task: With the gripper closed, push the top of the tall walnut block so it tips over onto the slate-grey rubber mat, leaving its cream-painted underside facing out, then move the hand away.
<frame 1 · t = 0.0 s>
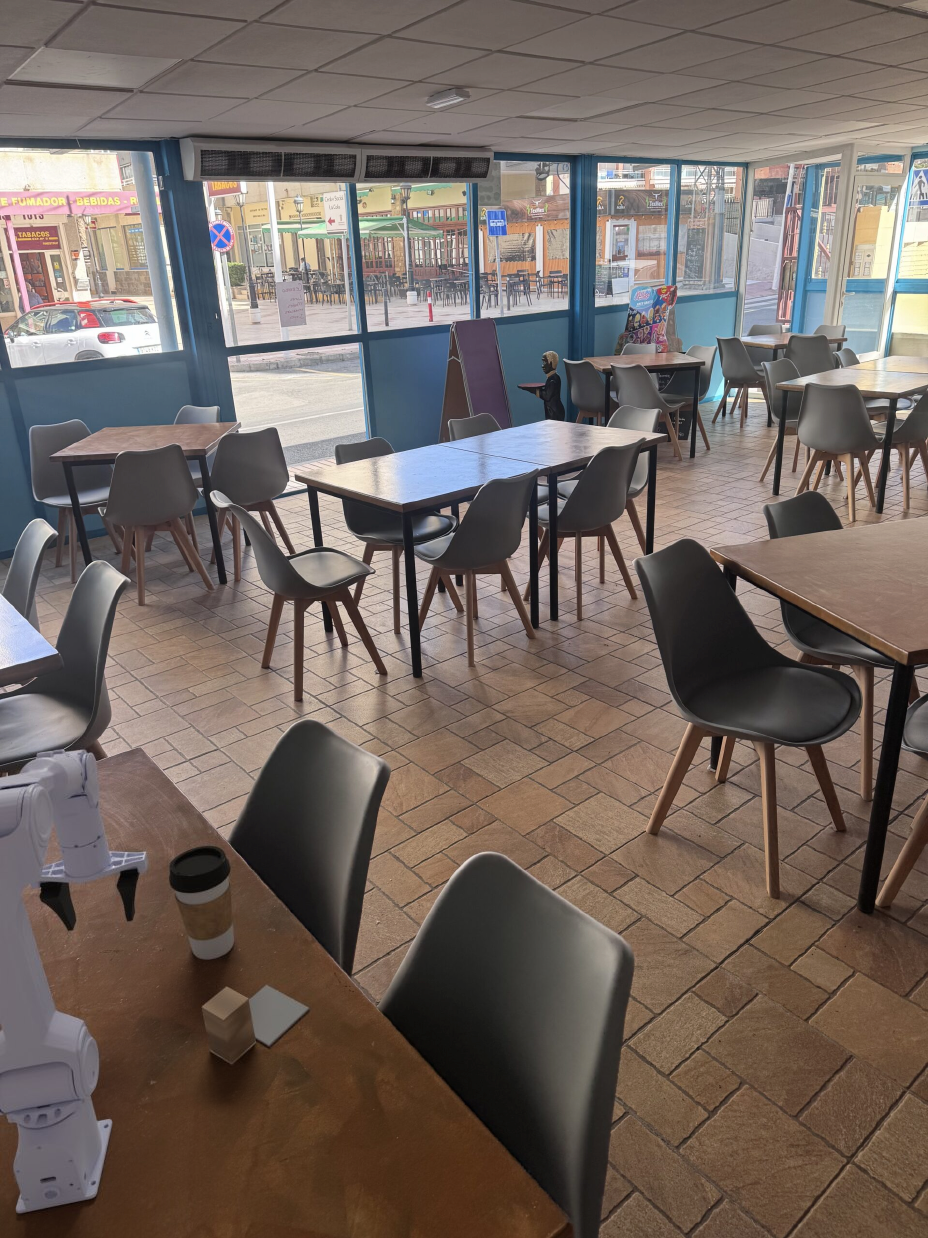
hand: (101, 921, 119), 10 cm above the table, tool pointing down, fingers open, 7 cm apart
walnut block: (233, 1047, 110), on the table
coffee cup: (213, 946, 128), on the table
slate mat: (267, 1015, 115), on the table
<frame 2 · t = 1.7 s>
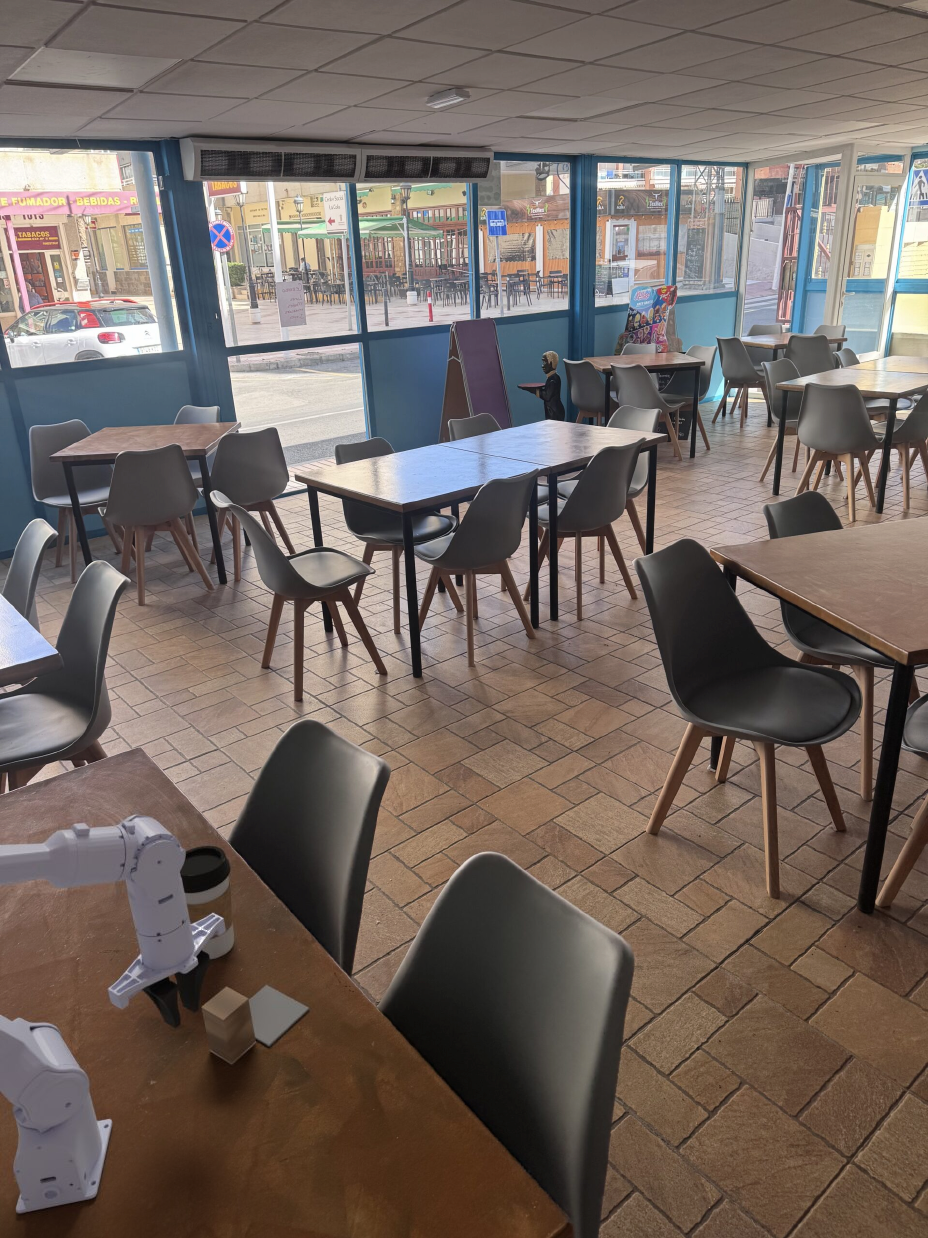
hand: (181, 1015, 102), 10 cm above the table, tool pointing down, fingers closed
nothing on the table moved.
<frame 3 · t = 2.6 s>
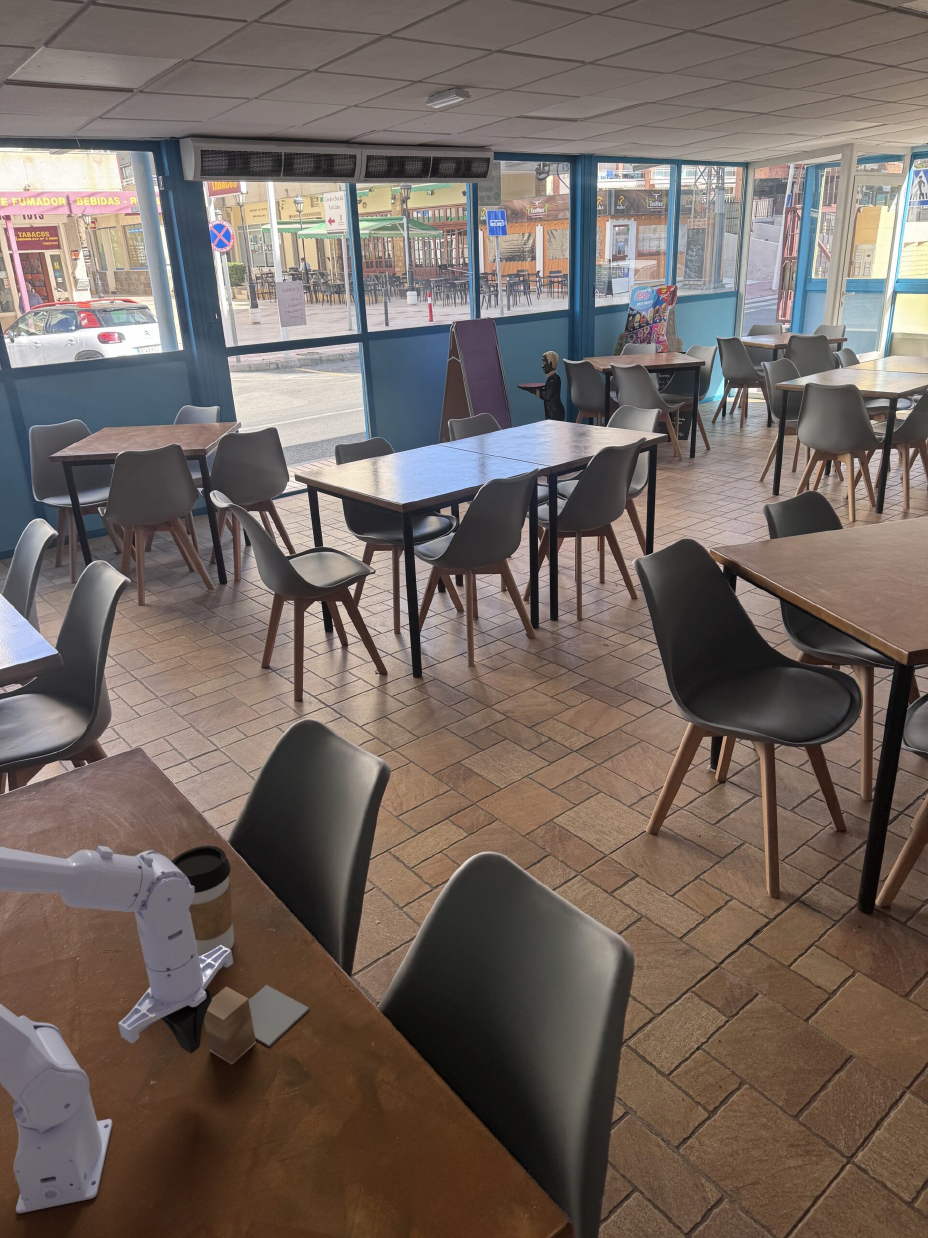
hand: (190, 1046, 104), 5 cm above the table, tool pointing down, fingers closed
nothing on the table moved.
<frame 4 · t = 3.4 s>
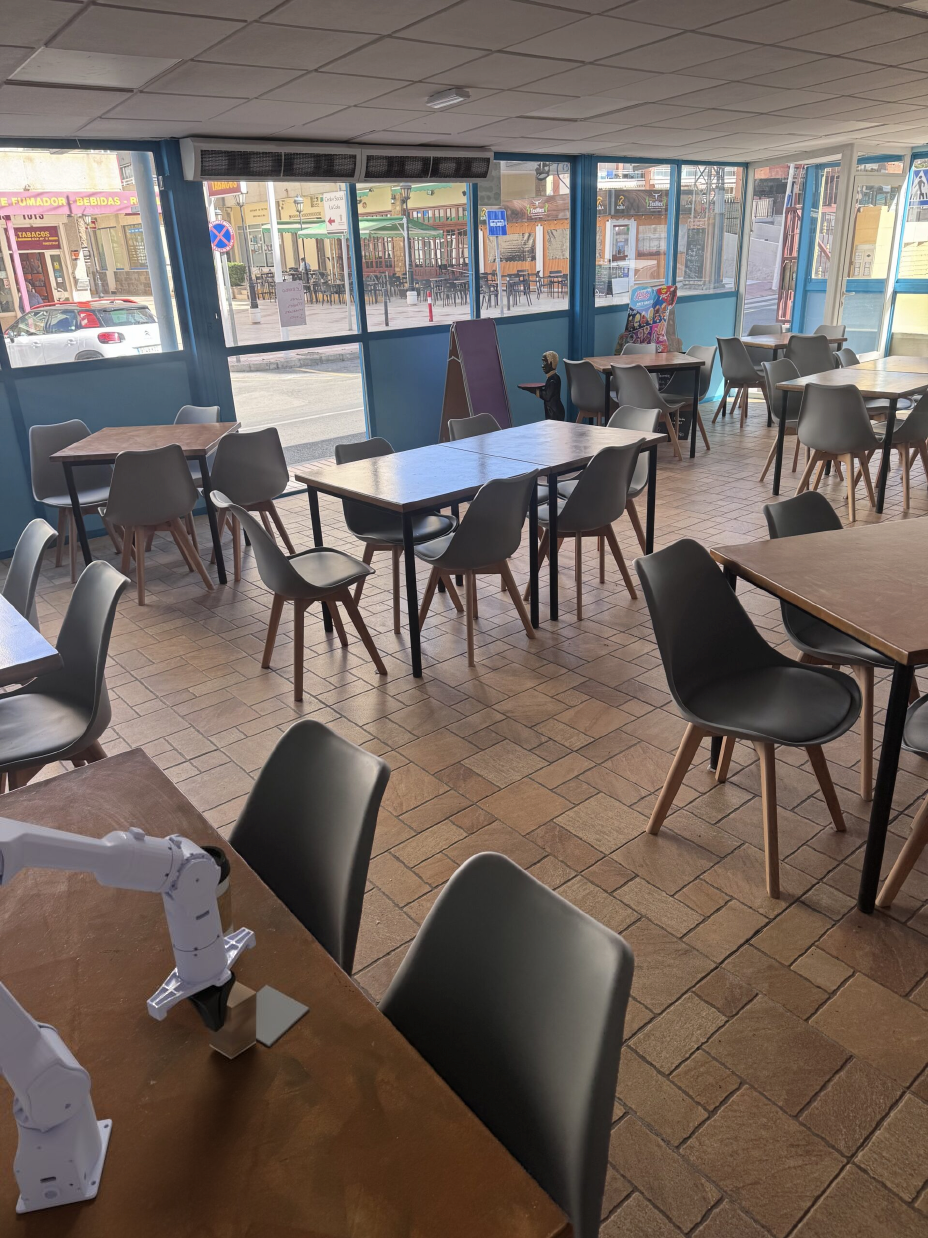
hand: (214, 1025, 107), 5 cm above the table, tool pointing down, fingers closed
walnut block: (232, 1044, 110), on the table, tilted 11°
everything else where it was.
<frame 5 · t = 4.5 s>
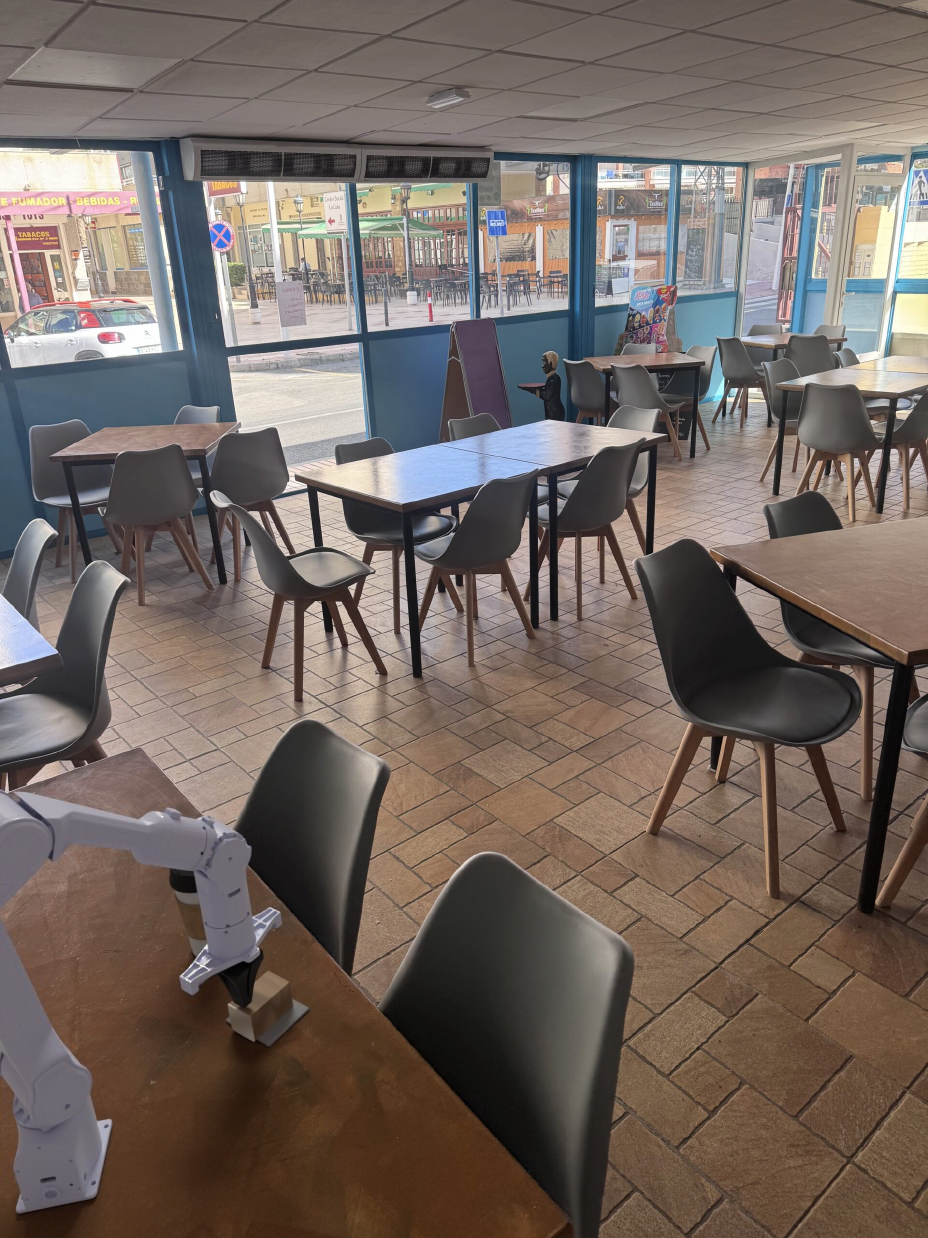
hand: (242, 1002, 110), 5 cm above the table, tool pointing down, fingers closed
walnut block: (240, 1023, 111), point 2 cm above the table, tilted 90°, touching slate mat
everything else where it was.
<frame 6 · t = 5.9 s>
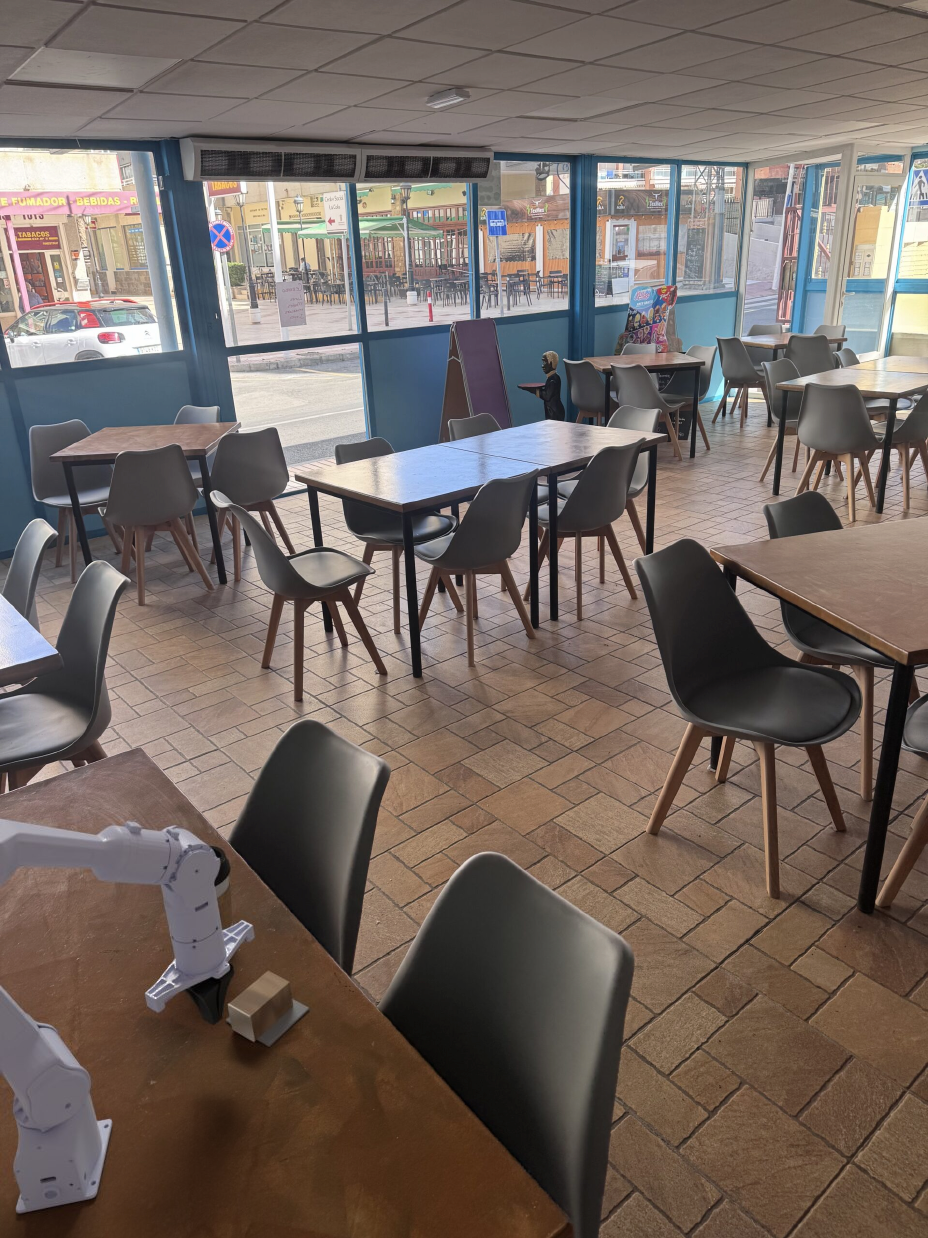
hand: (212, 1019, 107), 6 cm above the table, tool pointing down, fingers closed
nothing on the table moved.
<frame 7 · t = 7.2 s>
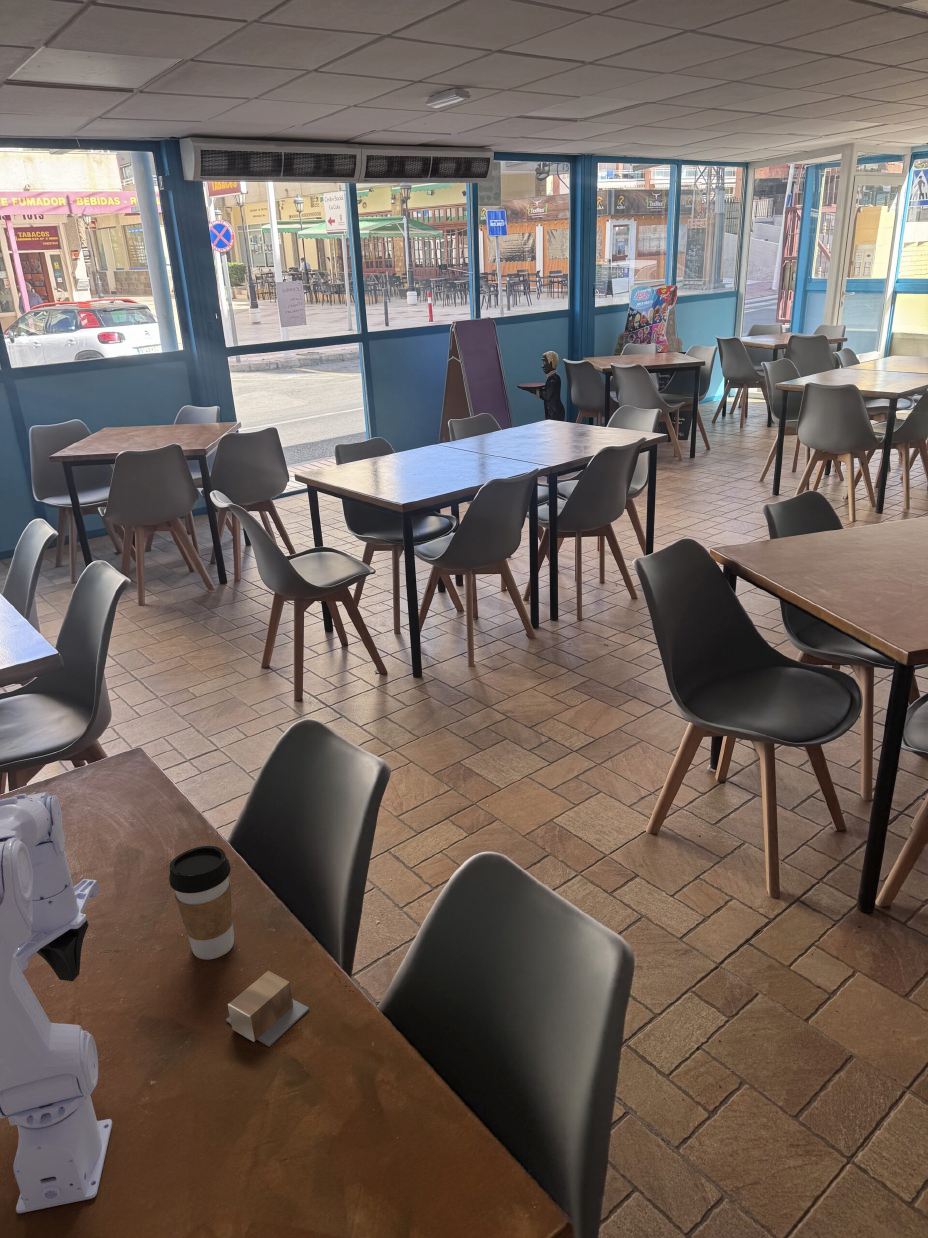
hand: (69, 976, 110), 10 cm above the table, tool pointing down, fingers closed
nothing on the table moved.
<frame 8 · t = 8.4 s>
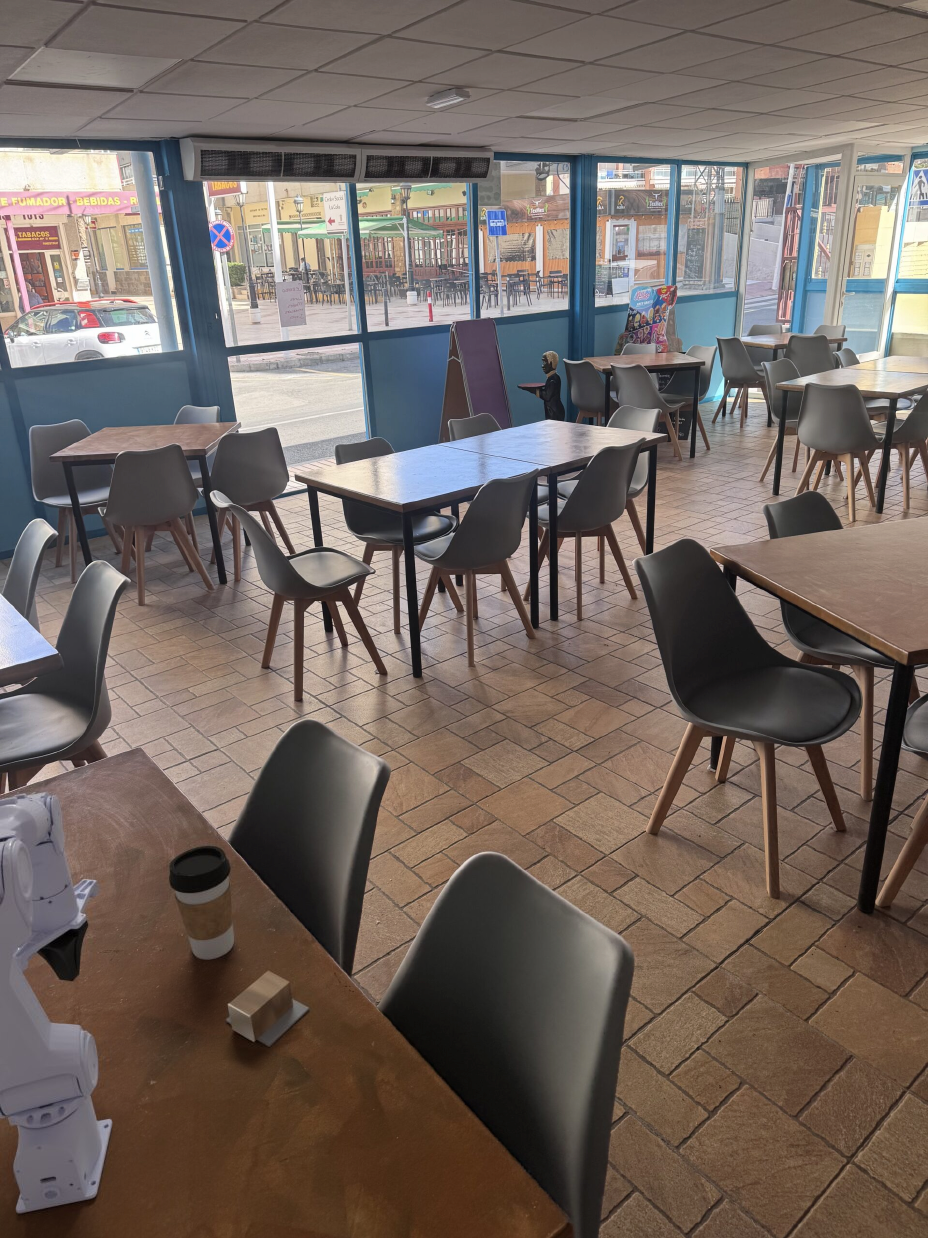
hand: (69, 976, 110), 10 cm above the table, tool pointing down, fingers closed
nothing on the table moved.
at the end: walnut block tilted 90°; walnut block inside the target area (3.3 cm from its centre), point 2.3 cm above the table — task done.
